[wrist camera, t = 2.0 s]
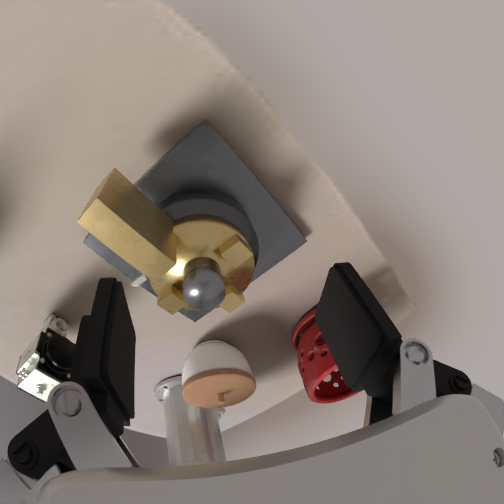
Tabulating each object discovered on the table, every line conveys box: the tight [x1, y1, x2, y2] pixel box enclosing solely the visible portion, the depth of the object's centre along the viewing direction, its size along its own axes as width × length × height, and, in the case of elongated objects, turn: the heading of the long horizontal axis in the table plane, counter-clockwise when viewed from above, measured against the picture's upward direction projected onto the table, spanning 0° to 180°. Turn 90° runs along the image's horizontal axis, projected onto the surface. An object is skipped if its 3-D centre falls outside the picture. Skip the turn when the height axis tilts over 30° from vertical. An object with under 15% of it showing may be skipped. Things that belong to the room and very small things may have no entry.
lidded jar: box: [182, 340, 256, 408], centre depth 41 cm, size 11×11×9 cm
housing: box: [83, 120, 307, 322], centre depth 30 cm, size 18×18×4 cm
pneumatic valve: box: [16, 314, 76, 402], centre depth 29 cm, size 6×12×12 cm, turn 125°
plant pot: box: [292, 308, 361, 403], centre depth 41 cm, size 13×13×12 cm
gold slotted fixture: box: [77, 168, 255, 315], centre depth 24 cm, size 17×10×6 cm, turn 37°
